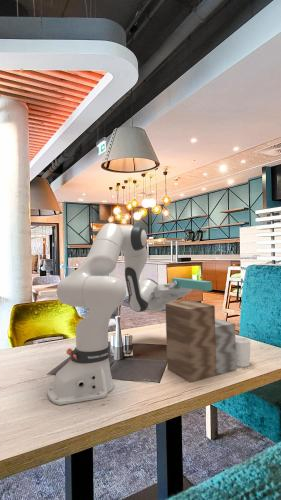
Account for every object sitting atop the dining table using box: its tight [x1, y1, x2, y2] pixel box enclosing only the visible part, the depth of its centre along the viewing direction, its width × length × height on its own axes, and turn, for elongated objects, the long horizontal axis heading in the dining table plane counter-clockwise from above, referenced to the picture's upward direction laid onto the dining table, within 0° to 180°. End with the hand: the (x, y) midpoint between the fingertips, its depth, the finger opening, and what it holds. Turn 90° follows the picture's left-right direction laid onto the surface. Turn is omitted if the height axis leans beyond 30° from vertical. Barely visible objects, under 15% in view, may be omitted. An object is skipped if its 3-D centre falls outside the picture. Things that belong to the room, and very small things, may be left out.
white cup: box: [235, 336, 251, 368], centre depth 131 cm, size 8×8×10 cm
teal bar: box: [171, 277, 213, 292], centre depth 142 cm, size 4×24×4 cm, turn 29°
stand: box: [165, 300, 237, 383], centre depth 126 cm, size 22×15×26 cm
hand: (181, 281), depth 148 cm, fingers closed on teal bar, 3 cm apart
